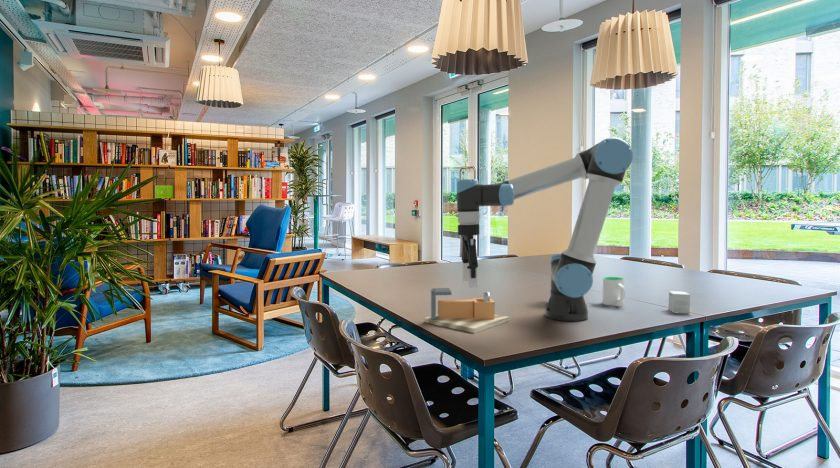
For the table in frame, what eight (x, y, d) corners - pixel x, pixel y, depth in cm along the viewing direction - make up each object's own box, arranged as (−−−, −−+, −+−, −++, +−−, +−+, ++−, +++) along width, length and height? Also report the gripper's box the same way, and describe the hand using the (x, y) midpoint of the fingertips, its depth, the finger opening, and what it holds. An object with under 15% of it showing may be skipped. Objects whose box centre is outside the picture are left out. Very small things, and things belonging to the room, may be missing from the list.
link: (491, 314, 187) (491, 298, 187) (494, 319, 180) (494, 302, 180) (437, 315, 186) (437, 298, 186) (438, 319, 179) (438, 302, 179)
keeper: (448, 315, 185) (448, 287, 184) (451, 320, 178) (451, 291, 177) (430, 316, 185) (430, 288, 184) (431, 321, 178) (431, 291, 177)
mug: (633, 307, 204) (633, 281, 204) (614, 308, 203) (615, 282, 202) (616, 301, 216) (616, 276, 215) (598, 301, 215) (599, 277, 214)
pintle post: (490, 317, 182) (491, 292, 182) (487, 318, 181) (487, 293, 180) (485, 316, 184) (485, 291, 183) (482, 317, 182) (482, 292, 182)
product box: (668, 309, 200) (668, 290, 200) (684, 310, 199) (685, 291, 198) (672, 313, 194) (673, 293, 194) (689, 313, 193) (690, 294, 192)
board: (509, 321, 183) (509, 316, 183) (474, 333, 168) (474, 328, 168) (459, 311, 198) (459, 308, 198) (423, 322, 182) (423, 318, 182)
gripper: (453, 222, 192) (454, 278, 193) (462, 226, 167) (464, 290, 168) (473, 221, 192) (474, 278, 194) (485, 225, 167) (487, 290, 169)
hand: (469, 284), depth 181 cm, fingers open, 13 cm apart
